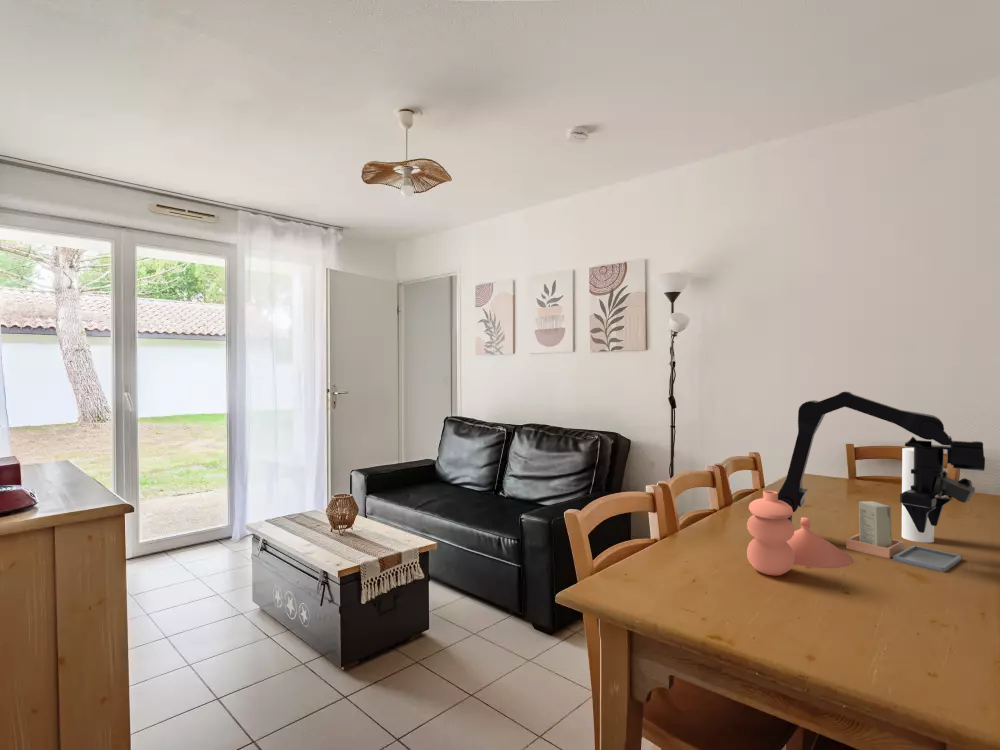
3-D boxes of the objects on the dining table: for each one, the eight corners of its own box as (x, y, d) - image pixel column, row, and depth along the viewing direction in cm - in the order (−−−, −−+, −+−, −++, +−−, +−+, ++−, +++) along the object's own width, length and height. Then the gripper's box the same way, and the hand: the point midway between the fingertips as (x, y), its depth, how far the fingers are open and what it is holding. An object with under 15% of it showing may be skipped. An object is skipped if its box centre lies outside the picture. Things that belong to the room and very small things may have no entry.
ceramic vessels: (781, 535, 153) (781, 469, 152) (866, 555, 136) (867, 482, 136) (716, 563, 131) (717, 487, 130) (809, 592, 114) (810, 504, 114)
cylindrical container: (939, 543, 145) (940, 452, 145) (910, 542, 147) (910, 451, 146) (924, 535, 152) (925, 448, 152) (896, 534, 154) (897, 447, 153)
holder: (889, 559, 134) (889, 549, 134) (846, 548, 142) (846, 539, 142) (903, 551, 139) (903, 541, 139) (861, 541, 147) (861, 532, 147)
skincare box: (892, 554, 137) (892, 506, 137) (876, 554, 137) (877, 507, 137) (872, 545, 144) (873, 500, 144) (857, 546, 143) (858, 500, 143)
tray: (943, 573, 124) (943, 568, 124) (893, 561, 132) (893, 556, 132) (962, 561, 132) (962, 555, 132) (913, 549, 140) (913, 545, 140)
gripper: (958, 476, 120) (957, 545, 120) (981, 466, 131) (981, 530, 131) (899, 468, 129) (898, 532, 129) (925, 460, 140) (925, 519, 140)
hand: (927, 528), depth 132 cm, fingers open, 9 cm apart
